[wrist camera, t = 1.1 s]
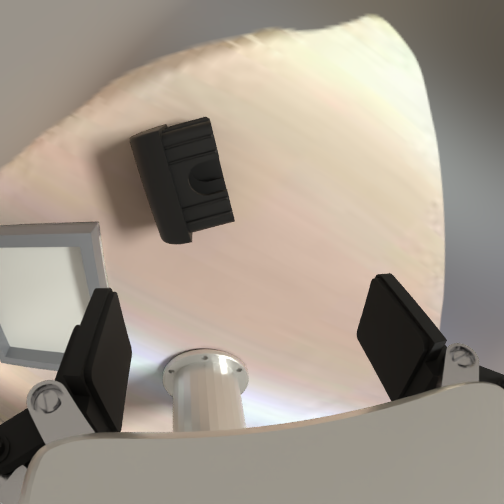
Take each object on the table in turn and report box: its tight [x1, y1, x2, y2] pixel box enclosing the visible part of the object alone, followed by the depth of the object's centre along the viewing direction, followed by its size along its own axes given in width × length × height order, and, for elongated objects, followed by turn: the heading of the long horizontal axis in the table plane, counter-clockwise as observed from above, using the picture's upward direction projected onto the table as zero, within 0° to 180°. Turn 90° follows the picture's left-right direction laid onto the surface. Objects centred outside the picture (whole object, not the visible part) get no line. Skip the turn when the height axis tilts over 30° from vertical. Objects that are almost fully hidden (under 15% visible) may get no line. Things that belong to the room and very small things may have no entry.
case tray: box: [0, 222, 109, 371], centre depth 33 cm, size 21×21×3 cm
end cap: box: [130, 117, 235, 244], centre depth 28 cm, size 10×7×7 cm
